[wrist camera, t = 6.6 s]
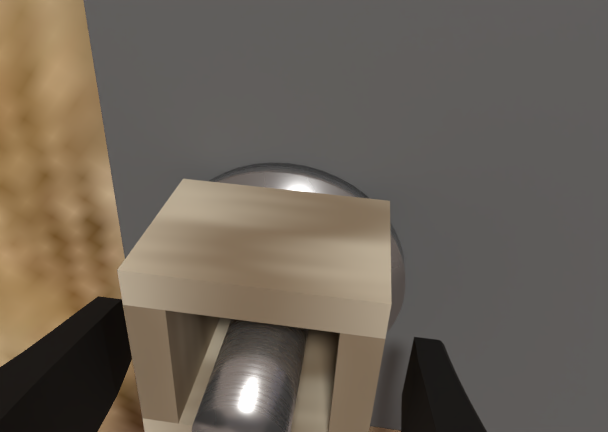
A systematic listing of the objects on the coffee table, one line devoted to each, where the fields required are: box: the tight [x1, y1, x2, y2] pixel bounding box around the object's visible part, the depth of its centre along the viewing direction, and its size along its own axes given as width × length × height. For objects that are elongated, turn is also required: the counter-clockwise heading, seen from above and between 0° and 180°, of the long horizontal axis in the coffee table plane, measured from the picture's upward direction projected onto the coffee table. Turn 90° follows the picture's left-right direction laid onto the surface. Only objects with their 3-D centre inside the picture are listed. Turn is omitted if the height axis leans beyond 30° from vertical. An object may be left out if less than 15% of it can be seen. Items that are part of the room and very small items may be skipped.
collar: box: [117, 179, 392, 432], centre depth 13 cm, size 5×5×4 cm
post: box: [192, 163, 406, 432], centre depth 13 cm, size 7×7×6 cm
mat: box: [84, 0, 608, 432], centre depth 12 cm, size 16×26×1 cm, turn 177°
